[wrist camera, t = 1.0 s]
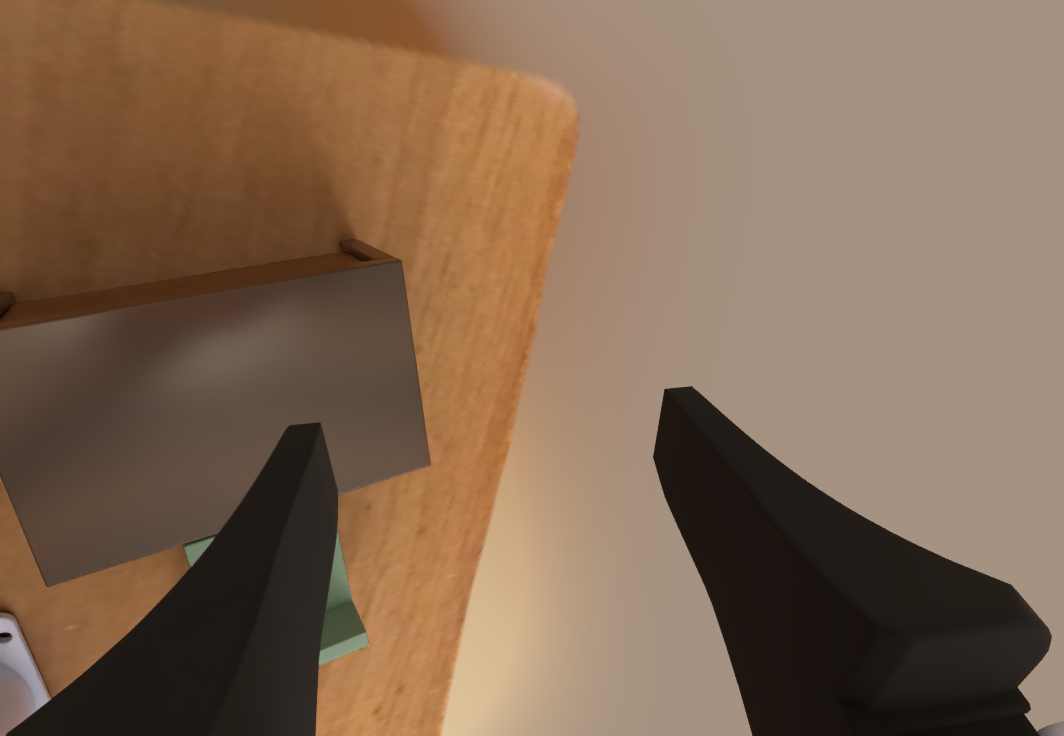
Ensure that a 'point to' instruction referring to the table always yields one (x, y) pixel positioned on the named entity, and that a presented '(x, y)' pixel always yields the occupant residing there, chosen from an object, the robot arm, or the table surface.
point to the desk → (198, 399)
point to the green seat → (341, 615)
